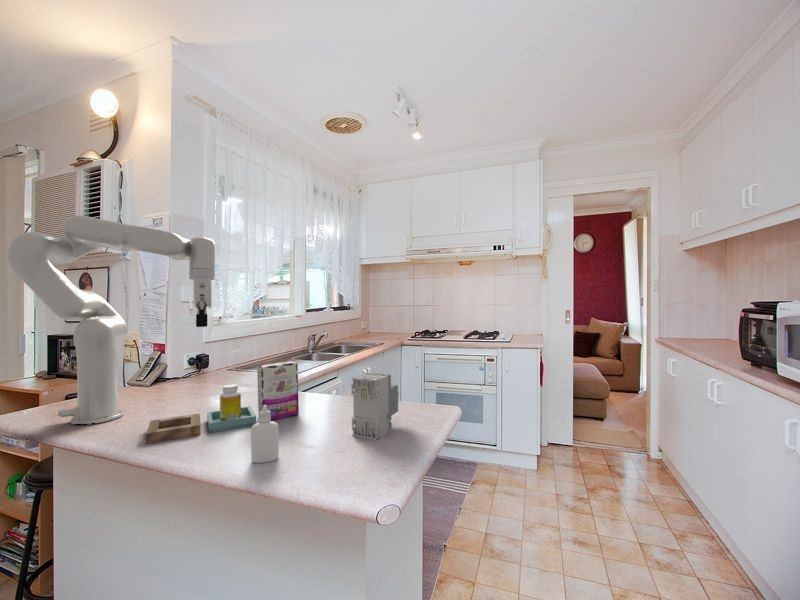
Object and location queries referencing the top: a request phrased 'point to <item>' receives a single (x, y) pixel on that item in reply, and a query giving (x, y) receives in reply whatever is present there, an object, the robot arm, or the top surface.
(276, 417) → the candy bar box
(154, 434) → the brown rectangular holder box
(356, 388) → the circuit breaker
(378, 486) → the top surface
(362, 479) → the top surface
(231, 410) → the supplement bottle
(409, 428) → the top surface
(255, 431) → the eye dropper bottle
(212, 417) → the tray
